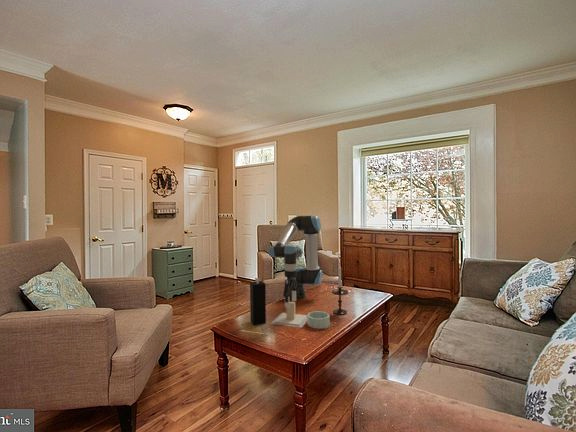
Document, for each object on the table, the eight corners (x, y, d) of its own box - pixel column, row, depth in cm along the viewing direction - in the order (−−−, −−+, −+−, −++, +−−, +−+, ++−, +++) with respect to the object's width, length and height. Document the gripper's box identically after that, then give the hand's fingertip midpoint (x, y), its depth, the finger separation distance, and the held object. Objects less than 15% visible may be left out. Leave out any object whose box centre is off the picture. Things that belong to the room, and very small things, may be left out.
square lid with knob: (283, 313, 195) (283, 297, 195) (306, 316, 190) (306, 299, 190) (274, 322, 180) (274, 305, 180) (299, 325, 175) (299, 307, 175)
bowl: (310, 319, 186) (310, 310, 185) (331, 322, 181) (331, 312, 181) (305, 327, 173) (305, 317, 173) (327, 330, 169) (326, 320, 169)
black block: (250, 321, 184) (249, 277, 183) (262, 320, 186) (261, 275, 186) (253, 326, 176) (252, 279, 176) (266, 324, 179) (265, 278, 178)
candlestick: (348, 315, 192) (347, 262, 191) (331, 314, 194) (330, 261, 193) (348, 310, 202) (347, 259, 201) (332, 309, 204) (331, 259, 204)
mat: (281, 313, 198) (281, 312, 198) (310, 316, 191) (310, 315, 191) (270, 324, 179) (270, 323, 179) (301, 328, 172) (301, 327, 172)
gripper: (291, 266, 197) (291, 298, 197) (277, 273, 174) (277, 309, 174) (301, 266, 195) (302, 298, 195) (289, 274, 171) (290, 310, 171)
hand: (290, 304), depth 184 cm, fingers open, 13 cm apart
